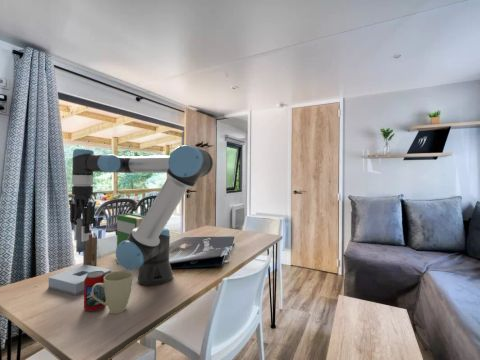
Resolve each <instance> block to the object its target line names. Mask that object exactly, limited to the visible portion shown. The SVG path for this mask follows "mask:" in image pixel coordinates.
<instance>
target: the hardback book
mask: <svg viewBox="0 0 480 360" xmlns="http://www.w3.org/2000/svg"><path fill="white" fill-rule="evenodd" d="M145 216H146V215H139V214H134V213H123V214H117V218H116V220H117V221H116V225H117V227H116V229H117V230H116V247H117V246H118V245H119V244H120V243H121V242H122V241H125V240H127V239H128V237H129V235H130V233H131V232H132V230H133V229H134V228H137V227H139V226H140V224H141V223H142V221H143V219H144V217H145Z"/></svg>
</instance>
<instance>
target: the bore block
mask: <svg viewBox="0 0 480 360" xmlns="http://www.w3.org/2000/svg"><path fill="white" fill-rule="evenodd" d="M94 271H104V273H105V275H107V274H109V273H112V269H109V268H105V267H99V266H96V265H95V266H91V265H83V264H82V265H80V266H77V267H75V268H72V269H69V270H66V271H63V272H61V273H60V272H59V273H56V274H54V275H52V276H49V277H48V289H50V290H53V291H57V292H60V293H64V294H68V295H72V296H75V297H76V296H78V295H80V294H84V280H85V278H86V276H87V274H88V273H90V272H94Z"/></svg>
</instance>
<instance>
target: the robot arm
mask: <svg viewBox="0 0 480 360" xmlns="http://www.w3.org/2000/svg"><path fill="white" fill-rule="evenodd" d="M94 152H95V151H94V150H92V149H88V148H87V149H86V148H75V149H73V151H72V158H71V159H72V166H71V167H72V169H71V171H72V176H71V185H72V186H71V194H72V196H74V197H73V199H69V200H68V203H69V221H70V223H71V224H73V232H74V239H73V240H74V241H76V238H77V218H83V225H82V238H81V241H82V242H83V241H87V240H89V233H90V229H91V228H90V226H91V225H93V224H94V223H95V211H96V210H95V209H96V205H97V201H96V200H95V201H94V200H92V197H91V196H92V195H93V194H94V186H93V185H94V173H110V174H111V173H114V174H115V173H118V174H119V173H121V174H122V173H123V174H133V173H134V174H136V173H137V174H139V173H141V174H143V173H144V174H147V173H149V174H151V173H154V174H155V173H156V174H157V173H163V174H165V173H166V175H167V178H166V180H165V182H164V183H163V185H162V187H161V188H160V190H159V192H158V194H157V195H156V197H155V199H154V201H153V202H152V204H151V205H150V208H149V209H148V211H147V212H146V213H145V215H144V216H145V217H144V219H143V221H142V223H141V224H140V226H139V227H137V228H134V229H133V230H132V232H131V233H130V235H129V237H128V239H127V240H125V241H122V242H121V243H120V244H119V245H118V246H117V245H116V249H115V258H116V261H117V263H118V264H119V265H120V267H121V268H123V269H125V270H126V271H134V270H136V269H139V272H138V274H137V283H139V284H141V285H142V286H161V285H163V284H165V283H168V282H170V281H171V280H172V279H173V277H174V275H173V273H174V271H173V270H172V266H171V262H170V238H171V236H170V234H171V233H170V230H169V229H168V228H165V227H166V225H167V224H168V222H169V221H170V219H171V217H172V216H173V214H174V212H175V210H176V209H177V207H178V205H179V204H180V202H181V200H182V199H183V197H184V195H185V194H186V192H187V190H188V189H190V188H192V187H195V184H197V182H198V180H199V178H202V177H206V176H207V175H208V174H210V172H211V171H212V169H213V167H214V159H213V157H212V155H211V154H210V153H209V152H208V151H207V150H205V149H202V148H199V147H196V146H194V145H183V144H182V145H180V146H178V147H175V148H174V149H173V150H172V151H171V153H170V155H149V156H148V155H147V156H120V155H116V154H113V153H112V154H111V153H101V154H100V153H98V154H97V153H96V154H95V153H94ZM86 222H87V223H86Z"/></svg>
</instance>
